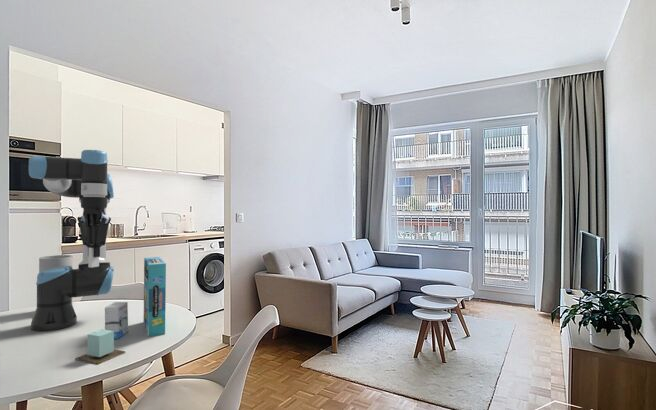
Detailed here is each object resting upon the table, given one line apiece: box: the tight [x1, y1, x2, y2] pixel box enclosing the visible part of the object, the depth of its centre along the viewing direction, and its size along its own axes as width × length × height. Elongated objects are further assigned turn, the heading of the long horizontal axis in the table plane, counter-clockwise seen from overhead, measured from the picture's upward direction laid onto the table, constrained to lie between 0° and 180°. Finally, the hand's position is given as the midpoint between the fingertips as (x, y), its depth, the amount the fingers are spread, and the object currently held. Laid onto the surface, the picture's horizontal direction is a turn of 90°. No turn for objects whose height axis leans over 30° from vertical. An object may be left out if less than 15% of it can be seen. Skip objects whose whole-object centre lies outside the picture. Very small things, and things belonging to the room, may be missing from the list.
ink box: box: [104, 301, 129, 340], centre depth 142 cm, size 9×5×12 cm, turn 5°
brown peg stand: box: [74, 349, 127, 365], centre depth 123 cm, size 10×10×7 cm
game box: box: [143, 256, 167, 337], centre depth 151 cm, size 20×6×27 cm, turn 30°
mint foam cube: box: [87, 329, 115, 357], centre depth 123 cm, size 5×5×7 cm
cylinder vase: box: [38, 254, 74, 273], centre depth 174 cm, size 12×12×25 cm
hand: (93, 266), depth 127 cm, fingers closed
